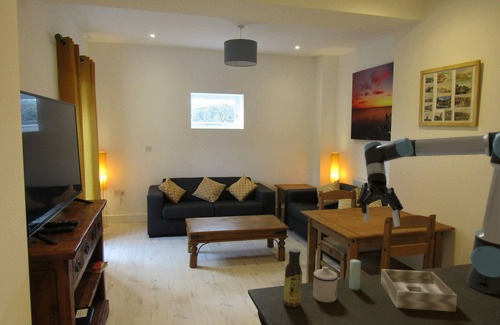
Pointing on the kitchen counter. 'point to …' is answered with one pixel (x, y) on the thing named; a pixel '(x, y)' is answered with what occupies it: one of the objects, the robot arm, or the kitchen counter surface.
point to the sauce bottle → (293, 280)
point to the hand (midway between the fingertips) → (382, 223)
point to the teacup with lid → (325, 285)
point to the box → (418, 290)
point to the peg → (354, 274)
